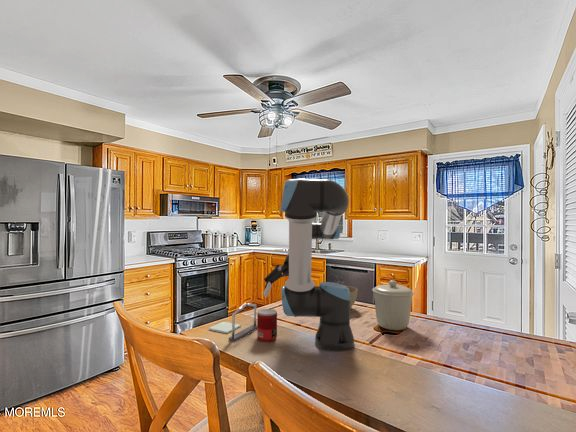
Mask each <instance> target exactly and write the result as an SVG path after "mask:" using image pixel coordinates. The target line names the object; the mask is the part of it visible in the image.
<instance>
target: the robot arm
mask: <svg viewBox="0 0 576 432" xmlns="http://www.w3.org/2000/svg"><path fill="white" fill-rule="evenodd" d="M349 203H350V199H349V195H348V193H347V191H346V190H345V188H344V187H343V186H342V185H340V183H338V182H336V181H334V180H332V179H329V178H328V179H327V178H322V179H319V178H310V179H309V178H307V179H306V178H292V179H291V178H290V179H287V180H285V182H284V185H283V189H282V199H281V205H280V206H281V207H280V211H281V212H282V213H284V218H285V219H287V221H288V252H287V254H286V257H285V259H284V261H283V264H282V266H280V265H279V264H277V265H275V268H274V269H273V270H271V272H270V273H268V275H266V276H265V277H264V280H263V281H264V282H265V285H264V291H263V294H262V295H263V296H264V298H266V299H267V298H268V296H269V294H270V292H271V289H272V287H273V285H272V284H273V283H275V282H276V281H278V280H280V279H281V278H283V277H288V278H287V280H286V281H285V282H284V285H283V286H281V288H280V289H281V293H280V294H281V304H282V305H281V306H282V310H283V313H284V315H285V316H286V317H294V318H298V317H300V318H302V317H305V318H309V317H311V318H312V317H313V318H317V317H318V318H319V324H318V327H317V330H316V333H315V336H314V337H315V338H314V339H315V340H314V343H315V345H316V346H317V347H318V348H320V349H324V350H327V351H332V352H333V351H334V352H339V351H341V352H342V351H347V350H351V349H352V348H354V346H355V338H354V334H353V331H352V328H351V323H350V322H351V321H350V316H351V313H350V312H351V310H350V291H349V289H348V288H347V287H346V286H347V285H344V284H341V283H337V282H331V281H321V282H320V283H319V285H317V286H316V283H315V281H314V280H313V279H312V255H313V253H312V246H313V242H312V241H313V240H338V239H339V238H340V236H341V227H340V226H341V225H340V221H341V218H342V217H343V215H344V214H345V213H346V212H347V209H348V208H349ZM318 212H319V213H320V212H322V216H321V221H320V222H313V221H315V219H316V218H317V216H318V215H317V213H318Z"/></svg>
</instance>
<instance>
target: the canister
mask: <svg viewBox="0 0 576 432" xmlns="http://www.w3.org/2000/svg"><path fill="white" fill-rule="evenodd" d="M371 290H372V292H373V298H374V300H373V301H374V308H375V310H374V311H375V316H376V322H377V324H378V326H379V327H381V328H383V329H385V330H391V331H403V330H406V329H407V328H408V326H409V324H410V317H411V310H412V302H413V295H414V294H415V291H414V290H413V289H411V288H410V287H407V286H403V285H398V282H397V281H396V280H394V279H391V280H389V281H388V284H379V285H377V286H375V287H373V288H372V289H371Z"/></svg>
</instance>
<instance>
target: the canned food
mask: <svg viewBox="0 0 576 432" xmlns="http://www.w3.org/2000/svg"><path fill="white" fill-rule="evenodd" d="M256 325H257V329H256V330H257V331H256V332H257V334H256V335H257V336H256V337H257V339H258V340H259V341H261V342H264V343H267V342H270V343H271V342H274V341H276V340H277V337H278V310H275V309H272V308H263V309H259V310H258V311H257V312H256Z"/></svg>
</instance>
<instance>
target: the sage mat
mask: <svg viewBox="0 0 576 432" xmlns="http://www.w3.org/2000/svg"><path fill="white" fill-rule="evenodd" d="M240 326H241V327H242V324H238V323H235V329H236V330H237V329H239V328H241V327H240ZM238 327H239V328H238ZM208 330H209V331H213V332H217V333H223V334H226V333H228V334H230V333H232V332H231V331H232V322H228V321H222V322H219V323H217V324H215V325H212V326H210V327H209V328H208ZM229 332H230V333H229Z"/></svg>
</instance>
